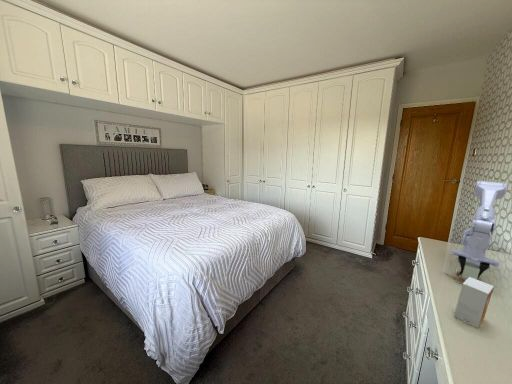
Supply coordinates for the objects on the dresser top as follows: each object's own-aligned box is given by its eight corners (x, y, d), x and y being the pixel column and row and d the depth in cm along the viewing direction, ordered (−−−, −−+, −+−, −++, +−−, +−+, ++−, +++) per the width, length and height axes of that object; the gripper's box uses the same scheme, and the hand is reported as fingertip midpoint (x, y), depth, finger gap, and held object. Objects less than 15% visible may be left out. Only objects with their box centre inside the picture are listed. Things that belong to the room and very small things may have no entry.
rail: (456, 268, 107) (458, 258, 106) (478, 275, 102) (481, 264, 100) (455, 281, 96) (458, 270, 94) (480, 290, 90) (484, 278, 89)
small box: (478, 329, 70) (488, 294, 67) (453, 316, 75) (461, 283, 72) (484, 319, 74) (494, 285, 71) (460, 307, 79) (468, 276, 77)
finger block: (461, 274, 99) (465, 260, 98) (474, 278, 96) (478, 264, 95) (461, 279, 95) (465, 265, 94) (475, 284, 92) (479, 269, 91)
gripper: (454, 243, 94) (447, 271, 97) (503, 255, 85) (494, 286, 87) (454, 239, 99) (448, 265, 102) (501, 250, 90) (492, 279, 92)
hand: (469, 274), depth 95 cm, fingers closed on finger block, 4 cm apart
